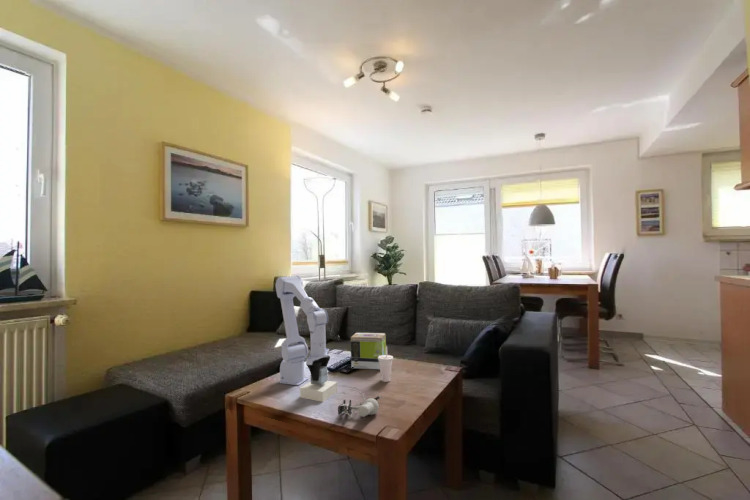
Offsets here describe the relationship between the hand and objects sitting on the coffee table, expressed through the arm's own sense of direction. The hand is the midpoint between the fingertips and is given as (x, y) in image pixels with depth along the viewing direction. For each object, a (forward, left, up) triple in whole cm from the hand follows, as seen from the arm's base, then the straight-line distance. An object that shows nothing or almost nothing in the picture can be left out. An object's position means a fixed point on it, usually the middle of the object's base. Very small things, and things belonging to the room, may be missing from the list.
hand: (318, 378), depth 133 cm
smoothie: (+20, +21, -6) cm, 30 cm away
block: (0, 0, -2) cm, 2 cm away
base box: (0, 0, -7) cm, 7 cm away
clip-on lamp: (+21, -8, -7) cm, 24 cm away
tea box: (+7, +36, -6) cm, 37 cm away
